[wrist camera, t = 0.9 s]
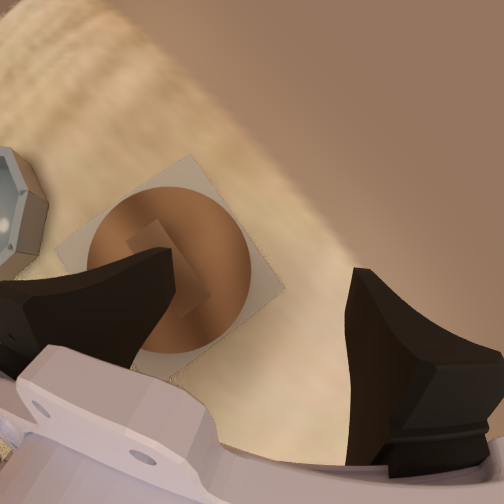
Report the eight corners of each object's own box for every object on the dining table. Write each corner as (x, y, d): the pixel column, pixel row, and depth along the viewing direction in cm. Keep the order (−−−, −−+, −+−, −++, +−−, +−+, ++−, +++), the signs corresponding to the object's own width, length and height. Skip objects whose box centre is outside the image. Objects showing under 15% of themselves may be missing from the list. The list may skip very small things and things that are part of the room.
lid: (154, 380, 22) (152, 404, 18) (62, 250, 21) (38, 244, 16) (277, 287, 26) (302, 289, 21) (189, 161, 25) (194, 136, 20)
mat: (154, 386, 23) (154, 388, 22) (56, 249, 21) (54, 249, 21) (283, 288, 26) (285, 288, 26) (190, 155, 25) (190, 153, 25)
